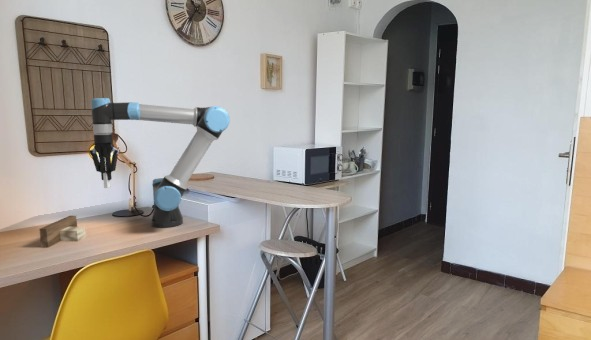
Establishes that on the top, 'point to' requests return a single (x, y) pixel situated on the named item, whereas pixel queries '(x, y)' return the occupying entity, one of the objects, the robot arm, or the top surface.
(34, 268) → the top surface
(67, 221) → the walnut board
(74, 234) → the beech block
